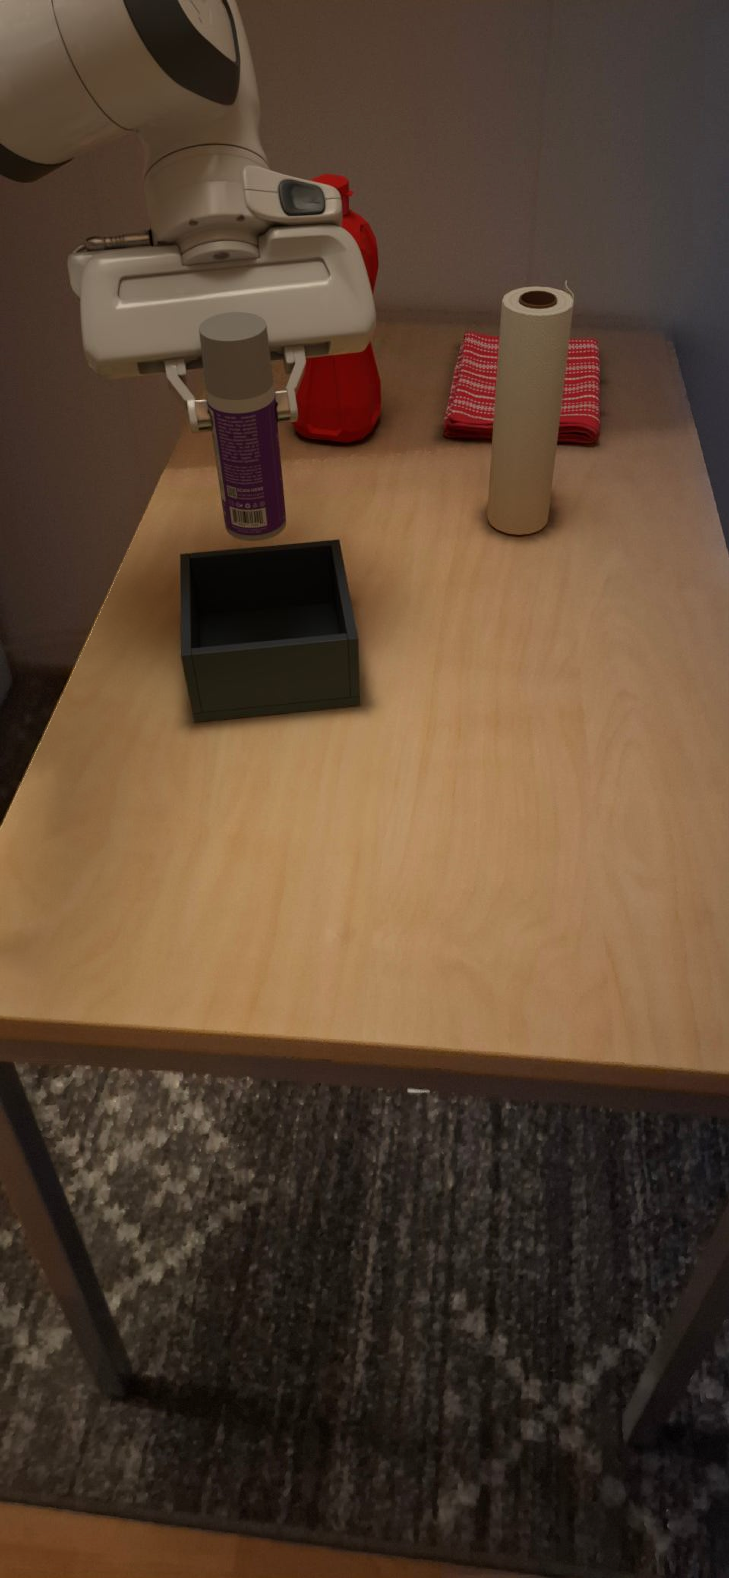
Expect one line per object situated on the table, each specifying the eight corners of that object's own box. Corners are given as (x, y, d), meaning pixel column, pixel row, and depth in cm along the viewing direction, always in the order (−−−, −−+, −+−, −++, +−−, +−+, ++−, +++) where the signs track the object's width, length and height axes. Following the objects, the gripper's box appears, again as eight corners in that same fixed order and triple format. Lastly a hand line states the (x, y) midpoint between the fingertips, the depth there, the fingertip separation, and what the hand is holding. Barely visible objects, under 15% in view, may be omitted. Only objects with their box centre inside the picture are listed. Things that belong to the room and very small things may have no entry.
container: (299, 522, 79) (283, 324, 68) (253, 549, 77) (229, 348, 66) (257, 500, 82) (235, 305, 71) (212, 525, 79) (182, 327, 68)
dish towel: (440, 441, 114) (441, 418, 112) (459, 346, 130) (460, 325, 128) (599, 450, 112) (603, 426, 110) (598, 352, 128) (601, 330, 126)
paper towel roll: (501, 542, 100) (520, 317, 85) (477, 510, 104) (490, 290, 89) (569, 527, 102) (600, 303, 86) (542, 496, 106) (567, 277, 90)
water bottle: (296, 400, 121) (278, 159, 103) (387, 411, 119) (385, 165, 101) (270, 439, 115) (245, 190, 97) (365, 451, 113) (359, 197, 95)
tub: (193, 722, 84) (180, 655, 79) (192, 619, 93) (180, 553, 88) (360, 705, 85) (358, 638, 80) (342, 605, 94) (339, 539, 89)
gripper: (53, 215, 68) (88, 428, 68) (362, 187, 70) (392, 393, 71) (69, 261, 74) (101, 456, 75) (352, 234, 76) (380, 423, 77)
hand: (245, 425), depth 73 cm, fingers closed on container, 4 cm apart
